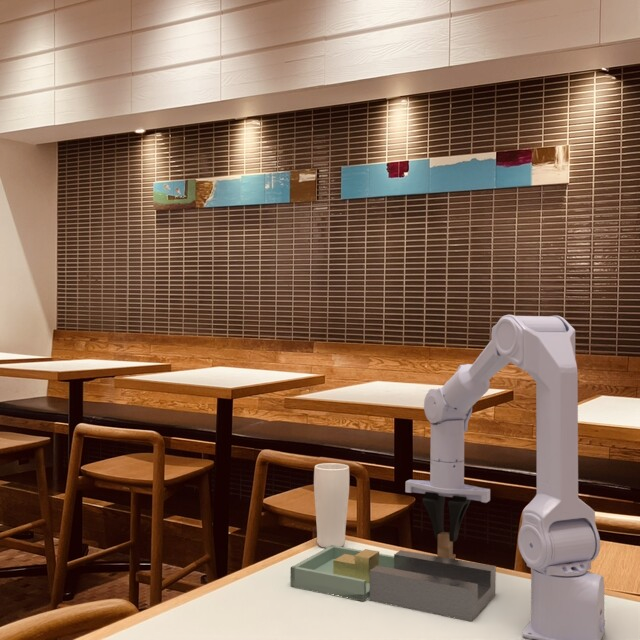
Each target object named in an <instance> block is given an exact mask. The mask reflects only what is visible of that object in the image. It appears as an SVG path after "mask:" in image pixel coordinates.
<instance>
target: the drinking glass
mask: <svg viewBox="0 0 640 640" xmlns="http://www.w3.org/2000/svg"><path fill="white" fill-rule="evenodd" d="M313 470H314V471H313V495H314V506H315V520H316V542H317V545H318V546H319V547H322V548H324V549H326V548H328V547H330V546H331V545H333V546H339V547H344V545H345V543H346V528H347V527H346V526H347V516H348V506H349V496H350V466H349V465H348V464H344V463H334V462H327V463H326V462H324V463H318V464H315V465H314V469H313Z"/></svg>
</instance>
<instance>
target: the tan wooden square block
mask: <svg viewBox="0 0 640 640" xmlns="http://www.w3.org/2000/svg"><path fill="white" fill-rule="evenodd" d="M333 574H337V575H342V576H347V577H352V578H354V576H355V556H354V555H349V554H343V555H342V556H340V557H338V558H336V559H335V560H333Z"/></svg>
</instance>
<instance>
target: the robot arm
mask: <svg viewBox="0 0 640 640" xmlns="http://www.w3.org/2000/svg"><path fill="white" fill-rule="evenodd" d="M509 364H513V365H514V366H515V367H517V368H519V369H520V370H521V371H523V372H526V373H527V374H528V375H529V376H530V377H531V378H532V379H533V380H534V382H535V383H536V385H535V391H536V392H535V395H536V398H535V399H536V400H535V401H536V403H535V404H536V406H535V407H536V410H535V411H536V413H535V414H536V415H535V416H536V417H535V418H536V420H535V421H536V422H535V423H536V424H535V425H536V427H535V428H536V494H535V496H534V497H533V498H532V500H531V501H530V502H529V503H528V504H527V505H526V506H525V507H524V508H523V510H522V521H521V526H520V529H519V531H518V535H517V537H518V538H517V545H518V550H519V553H520V555H521V558H522V559H523V560H524V562H525V563H526V567H528V568H530V572H531V575H530V576H531V577H530V578H531V579H530V583H531V584H530V621H529V622H528V624H527V625H526V627H525V628H524V629H523V631H522V634H521V635H522V637H524V638H528V639H532V640H602V638H603V636H604V635H605V632H606V628H605V627H606V625H605V624H606V623H605V622H606V620H605V580H604V576H603V575H602V574H598V573H594V572H591V571H589V570H592V562H593V561H595V560H596V559H597V557H598V556H599V554H600V550H601V538H600V534H599V531H598V529H597V524H596V512H595V509H593V508H592V507H591V506H589V505H588V504H586V503H585V501H583V500H582V499H580V498H579V431H578V430H579V422H578V421H579V418H578V417H579V415H578V413H579V410H578V409H579V407H578V405H579V404H578V403H579V402H578V399H579V397H578V396H579V393H578V392H579V391H578V388H579V387H578V385H579V383H578V381H579V380H578V379H579V378H578V376H579V375H578V373H579V372H578V364H577V361H576V329H575V328H574V327H573V326H572V325H571V324H570V322H568V321H567V320H566V319H565V318H564V317H562V316H560V315H549V316H548V315H547V316H546V315H545V316H544V315H539V316H538V315H514V314H506V315H503V316H501V317H500V318H499V320H498V321H497V323H496V324H495V325H493V327H492V328H491V340H490V341H489V342H488V344H487V345H486V346H485V348H483V350H482V352H480V353H479V355H478V356H477V358H476V359H475V361H474V362H473V363H466V364H459V366H458V367H457V370H456V372H455V373H454V374H453V375H452V376H451V377H450V379H448V380H447V381H446V382H445V383H444V385H443V386H442V387H438V388H431V389H429V390H428V391H427V393H426V394H425V396H424V397H425V398H424V400H423V401H424V402H423V410H424V415H425V417H426V419H427V421H429V422H430V447H429V448H430V451H429V452H430V454H429V455H430V457H429V458H430V464H429V465H430V467H429V468H430V470H429V476H430V478H429V479H430V480H421V479H420V480H419V479H408V480H406V481H405V490H404V492H405V493H409V494H411V493H415V494H423V495H424V497H423V498H422V504H423V506H424V507H425V509H426V511H427V513H428V516H429V519H430V522H431V524H432V529H433V532H434V533H433V534H434V539H435V540H438V534H439V533H441V532H445V531H444V512H445V511H444V510H445V503H446V497H447V498H452V499H450V500H448V501H447V506H448V513H449V515H448V516H449V532H448V533H449V536H450V541H452V542H453V543H454V542H456V541H457V540H458V537H459V532H460V528H461V524H462V521H463V518H464V516H465V514H466V511H467V510H468V507H469V506H470V503H471V501H477V502H481V503H484V504H487V503H488V502H490V501H491V488H485V487H479V486H475V485H469V484H465V433H467V430H469V427H468V426H469V425H468V424H469V421H470V418H471V417H472V414H473V406H474V405H475V404H476V403H477V402H478V401H479V400H480V399H481V398H482V397H483V396H484V395H485V394H487V392H488V391H489V389H490V386H491V382H490V380H491V379H492V378H493V377H494V376H495V375H497V374H498V373H499V372H500V371H501V370H503V369H504V368H505V367H506V366H507V365H509Z"/></svg>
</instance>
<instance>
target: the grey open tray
mask: <svg viewBox="0 0 640 640" xmlns="http://www.w3.org/2000/svg"><path fill="white" fill-rule="evenodd" d="M393 556H394V569H393V568H388V567H382V566H376V567H374V568H373V569H371V570H370V597H369V601H371V600H373V601H372V602H376V601H378V603H381V602H382V604H386V603H387V605H390V604H392V606H395V605H397V606H396V607H400V606H401V607H400V608H405V607H406V609H409V608H410V610H414V609H415V610H414V611H419V610H420V612H424V613H430V614H433V615H438V616H443V615H444V616H443V617H448V616H450V617H449V618H453V617H455V618H454V619H457V618H460V619H459V620H462V619H463V620H462V621H467V622H473V620H475V618H476V617H478V615H479V614H480V613H481V612H482V611H483V610H484V609H485V608H486V606H487V605H488V604H489V603H490V602H491V601H492V600H493V599H494V597H495V596H496V588H497V587H496V578H497V577H496V576H497V573H496V572H497V570H496V569H497V565H491V564H485V563H479V562H474V561H468V560H462V559H456V558H455V559H450V558H444V557H438V556H437V555H433V554H431V555H430V554H427V553H426V554H425V553H421V552H414V551H410V550H409V551H408V550H402V549H401V550H400V549H399V551H397V552H396V553H394V555H393Z"/></svg>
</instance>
